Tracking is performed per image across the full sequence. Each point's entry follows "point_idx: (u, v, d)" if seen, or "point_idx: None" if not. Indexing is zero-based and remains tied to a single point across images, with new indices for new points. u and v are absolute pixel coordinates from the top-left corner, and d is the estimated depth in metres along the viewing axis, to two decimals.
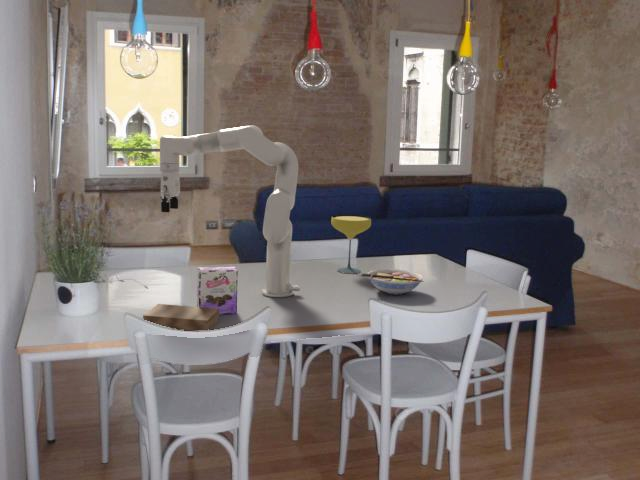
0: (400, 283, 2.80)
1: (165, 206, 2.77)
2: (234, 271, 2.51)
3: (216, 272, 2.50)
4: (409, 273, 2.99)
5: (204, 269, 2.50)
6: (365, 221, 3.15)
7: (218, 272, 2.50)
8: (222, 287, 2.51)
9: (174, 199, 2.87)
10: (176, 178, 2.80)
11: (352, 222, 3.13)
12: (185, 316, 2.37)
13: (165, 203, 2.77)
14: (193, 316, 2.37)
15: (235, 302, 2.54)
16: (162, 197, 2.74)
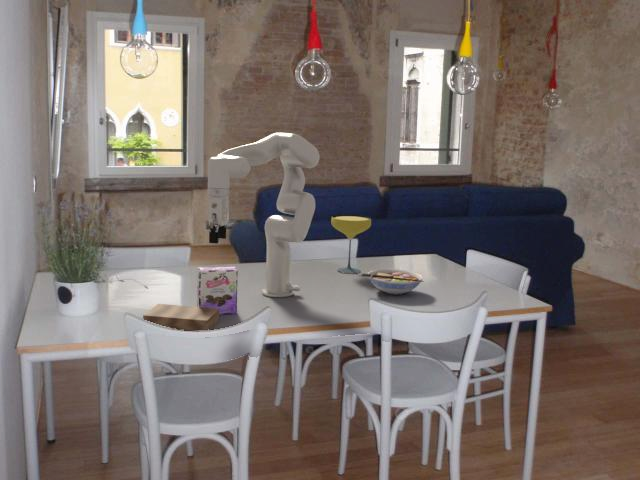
0: (400, 283, 2.80)
1: (214, 237, 2.44)
2: (234, 271, 2.51)
3: (216, 272, 2.50)
4: (409, 273, 2.99)
5: (204, 269, 2.50)
6: (365, 221, 3.15)
7: (218, 272, 2.50)
8: (222, 287, 2.51)
9: (222, 228, 2.54)
10: (226, 205, 2.48)
11: (352, 222, 3.13)
12: (185, 316, 2.37)
13: (213, 233, 2.44)
14: (193, 316, 2.37)
15: (235, 302, 2.54)
16: (211, 227, 2.42)
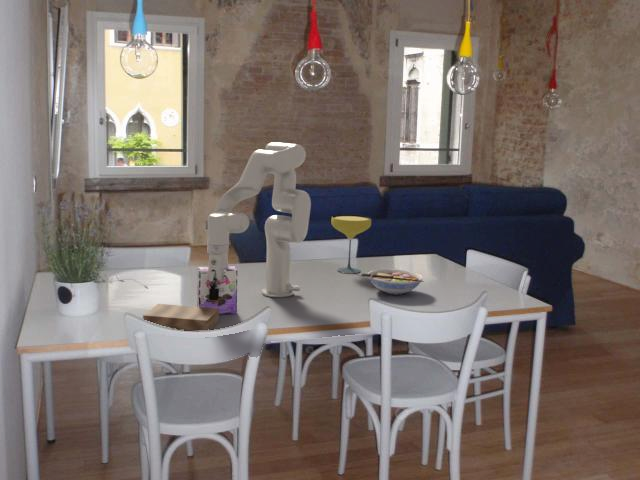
0: (400, 283, 2.80)
1: (214, 293, 2.49)
2: (234, 270, 2.52)
3: None
4: (409, 273, 2.99)
5: (204, 268, 2.50)
6: (365, 221, 3.15)
7: None
8: (222, 286, 2.51)
9: None
10: (225, 260, 2.52)
11: (352, 222, 3.13)
12: (185, 316, 2.37)
13: (214, 290, 2.49)
14: (193, 316, 2.37)
15: (235, 302, 2.54)
16: (211, 284, 2.47)
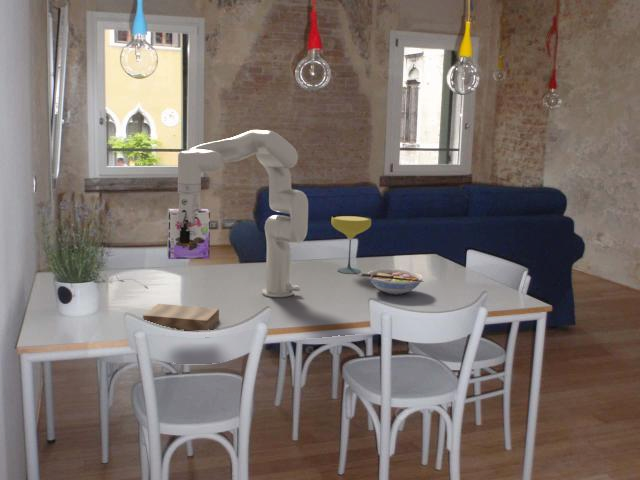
0: (400, 283, 2.80)
1: (185, 236, 2.34)
2: (206, 212, 2.36)
3: None
4: (409, 273, 2.99)
5: (174, 210, 2.35)
6: (365, 221, 3.15)
7: None
8: (193, 229, 2.36)
9: None
10: (197, 201, 2.36)
11: (352, 222, 3.13)
12: (185, 316, 2.37)
13: (184, 232, 2.33)
14: (193, 316, 2.37)
15: (207, 246, 2.38)
16: (181, 226, 2.31)
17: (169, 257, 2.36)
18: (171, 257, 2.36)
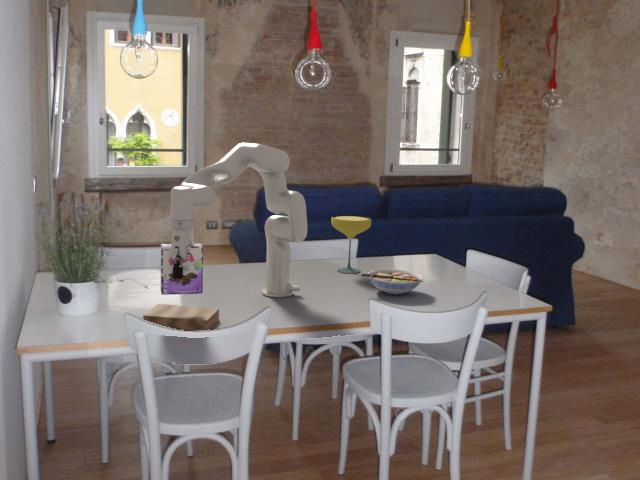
0: (400, 283, 2.80)
1: (177, 272, 2.33)
2: (199, 247, 2.36)
3: None
4: (409, 273, 2.99)
5: (167, 245, 2.35)
6: (365, 221, 3.15)
7: None
8: (186, 265, 2.35)
9: None
10: (190, 237, 2.36)
11: (352, 222, 3.13)
12: (185, 316, 2.37)
13: (177, 268, 2.33)
14: (193, 316, 2.37)
15: (200, 281, 2.38)
16: (174, 262, 2.31)
17: (162, 293, 2.35)
18: (164, 293, 2.35)
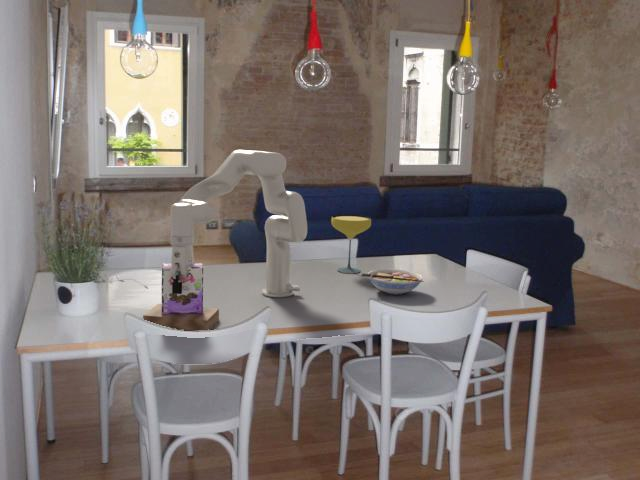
0: (400, 283, 2.80)
1: (177, 287, 2.34)
2: (199, 268, 2.37)
3: None
4: (409, 273, 2.99)
5: (168, 265, 2.36)
6: (365, 221, 3.15)
7: None
8: (187, 285, 2.37)
9: None
10: (190, 253, 2.37)
11: (352, 222, 3.13)
12: (185, 316, 2.37)
13: (177, 283, 2.33)
14: (193, 316, 2.37)
15: (201, 301, 2.39)
16: (173, 277, 2.31)
17: (162, 312, 2.37)
18: (164, 312, 2.37)
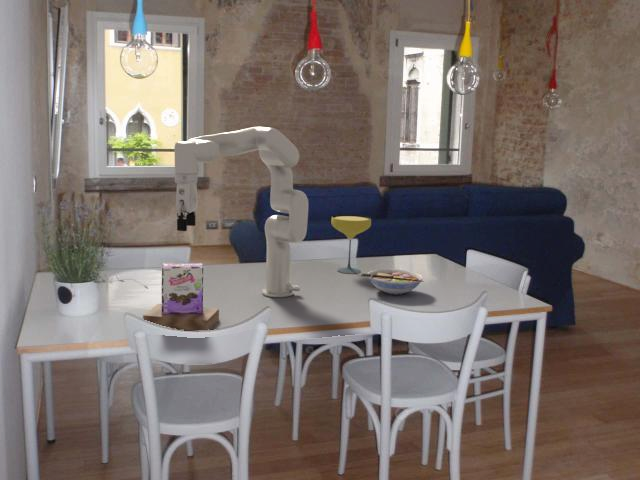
0: (400, 283, 2.80)
1: (182, 224, 2.36)
2: (199, 268, 2.37)
3: (180, 269, 2.36)
4: (409, 273, 2.99)
5: (168, 265, 2.36)
6: (365, 221, 3.15)
7: (182, 269, 2.36)
8: (187, 285, 2.37)
9: (191, 215, 2.46)
10: (194, 191, 2.39)
11: (352, 222, 3.13)
12: (185, 316, 2.37)
13: (181, 220, 2.36)
14: (193, 316, 2.37)
15: (201, 301, 2.39)
16: (178, 214, 2.34)
17: (162, 312, 2.37)
18: (164, 312, 2.37)
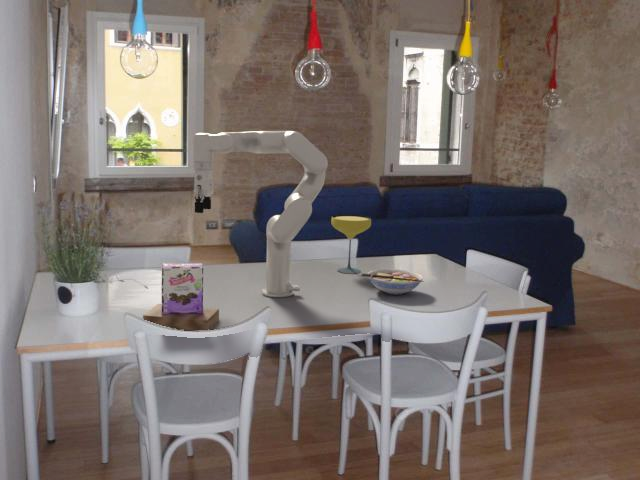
0: (400, 283, 2.80)
1: (199, 206, 2.65)
2: (199, 268, 2.37)
3: (180, 269, 2.36)
4: (409, 273, 2.99)
5: (168, 265, 2.36)
6: (365, 221, 3.15)
7: (182, 269, 2.36)
8: (187, 285, 2.37)
9: (207, 199, 2.75)
10: (210, 177, 2.68)
11: (352, 222, 3.13)
12: (185, 316, 2.37)
13: (199, 203, 2.65)
14: (193, 316, 2.37)
15: (201, 301, 2.39)
16: (196, 197, 2.62)
17: (162, 312, 2.37)
18: (164, 312, 2.37)
